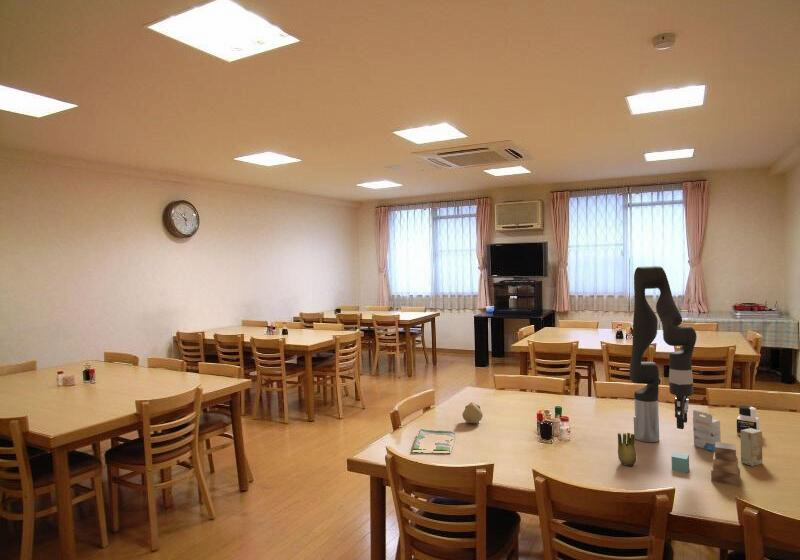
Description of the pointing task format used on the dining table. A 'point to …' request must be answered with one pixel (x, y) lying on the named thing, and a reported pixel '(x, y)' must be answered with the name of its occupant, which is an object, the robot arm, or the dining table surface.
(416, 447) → the green white rectangular tray
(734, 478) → the tower base
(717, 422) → the ink box
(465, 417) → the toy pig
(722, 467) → the tower mid
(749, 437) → the skincare box
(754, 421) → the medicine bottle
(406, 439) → the dining table surface
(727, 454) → the tower top
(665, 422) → the dining table surface
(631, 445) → the fennel bulb
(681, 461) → the cube
